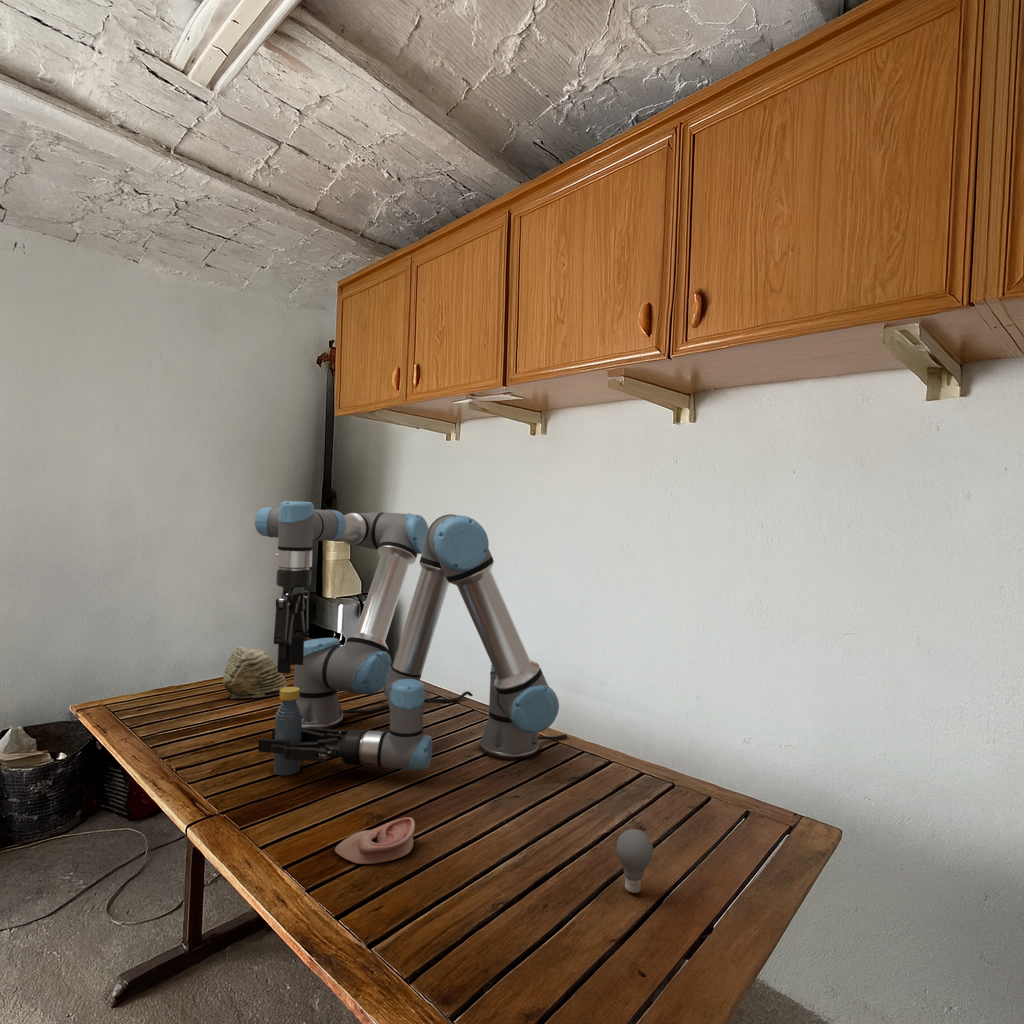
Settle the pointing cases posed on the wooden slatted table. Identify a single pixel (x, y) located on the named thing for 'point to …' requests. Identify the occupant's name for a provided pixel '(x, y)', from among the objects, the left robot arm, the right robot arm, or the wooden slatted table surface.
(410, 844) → the anatomical model
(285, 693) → the cap
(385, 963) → the wooden slatted table surface
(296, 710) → the bottle
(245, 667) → the fossil
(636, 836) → the light bulb
